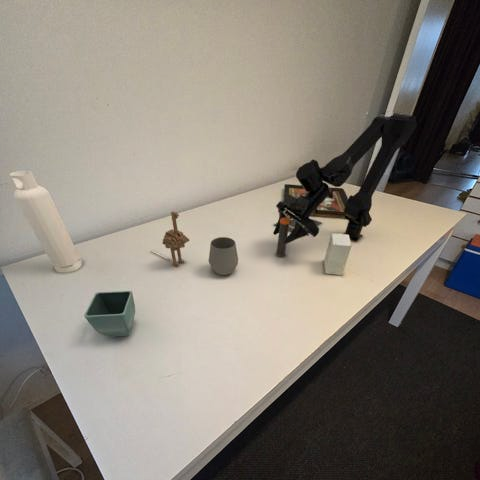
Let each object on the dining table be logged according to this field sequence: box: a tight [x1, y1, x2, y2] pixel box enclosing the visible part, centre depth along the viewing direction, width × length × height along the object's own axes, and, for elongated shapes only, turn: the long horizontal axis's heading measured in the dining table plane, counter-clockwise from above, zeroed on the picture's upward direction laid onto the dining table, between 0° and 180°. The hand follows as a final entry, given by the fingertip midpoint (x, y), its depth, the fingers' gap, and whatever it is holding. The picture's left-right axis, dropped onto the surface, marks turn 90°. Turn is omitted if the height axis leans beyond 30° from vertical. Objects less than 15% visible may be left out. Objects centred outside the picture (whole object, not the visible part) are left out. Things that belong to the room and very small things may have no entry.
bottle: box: [9, 169, 83, 274], centre depth 77 cm, size 8×8×28 cm
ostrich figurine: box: [151, 211, 190, 268], centre depth 85 cm, size 17×7×18 cm, turn 54°
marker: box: [275, 218, 290, 258], centre depth 90 cm, size 3×3×13 cm
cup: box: [208, 236, 239, 276], centre depth 83 cm, size 10×9×10 cm
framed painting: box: [283, 183, 349, 219], centre depth 129 cm, size 38×35×3 cm
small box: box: [323, 232, 352, 276], centre depth 85 cm, size 8×6×10 cm
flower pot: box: [83, 290, 136, 338], centre depth 64 cm, size 9×9×9 cm
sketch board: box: [273, 216, 322, 233], centre depth 112 cm, size 16×14×1 cm
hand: (279, 238), depth 89 cm, fingers open, 7 cm apart
